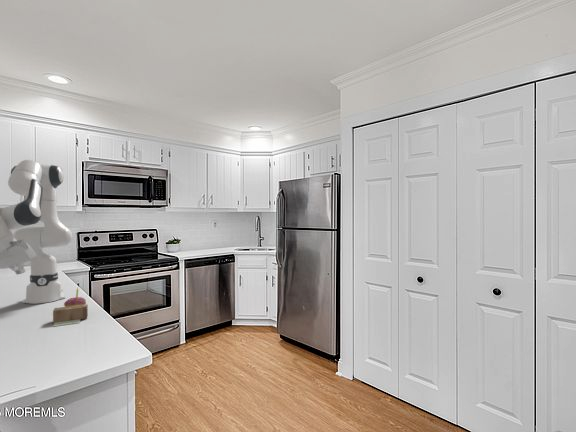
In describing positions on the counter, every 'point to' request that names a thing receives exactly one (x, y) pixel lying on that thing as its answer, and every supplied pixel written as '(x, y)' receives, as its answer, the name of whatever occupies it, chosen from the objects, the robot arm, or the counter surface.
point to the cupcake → (75, 301)
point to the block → (70, 313)
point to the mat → (66, 322)
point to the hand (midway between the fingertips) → (21, 273)
